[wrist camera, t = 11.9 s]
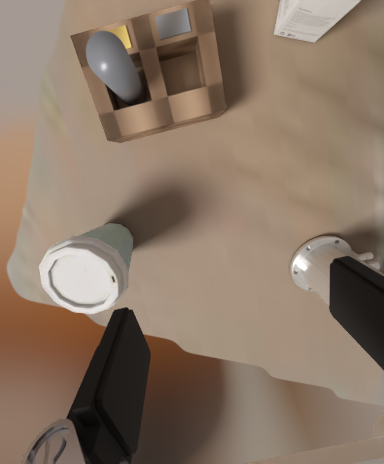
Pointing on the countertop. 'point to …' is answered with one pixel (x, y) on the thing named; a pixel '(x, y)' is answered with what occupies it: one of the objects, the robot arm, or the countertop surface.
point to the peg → (115, 67)
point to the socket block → (161, 72)
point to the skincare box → (310, 17)
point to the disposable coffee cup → (88, 269)
